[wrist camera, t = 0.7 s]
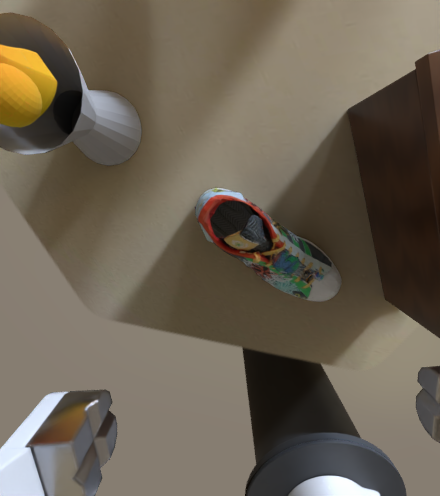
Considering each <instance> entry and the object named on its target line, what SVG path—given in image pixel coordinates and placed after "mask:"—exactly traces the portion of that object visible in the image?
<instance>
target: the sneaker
mask: <svg viewBox="0 0 440 496" xmlns="http://www.w3.org/2000/svg"><path fill="white" fill-rule="evenodd" d="M195 215H196V217H197V220H198V222H199V224H200V226H201V228H202V231H203V233H204V235H205V237H206V239H207V241H210V242H213V243H214V244H215V245H217V246H218V247H219V248H220V249H222V250H223V251H224V252H226V253H228V254H229V255H231V256H233V257H236V258H238V259H239V260H241V261H243V262H244V263H245V264H246V266H247V267H250V268H251V269H253V270H254V271H255V272H256V274H257V275H259V276H261V277H262V280H264V281H267V282H268V283H269V284H271V285H272V286H274V287H275V288H277V289H279V290H281V291H283V292H285V293H288V294H290V295H293V296H296V297H299V298H302V299H305V300H309V301H318V302H320V301H326V300H329V299H331V298H333V297H334V296H335V295H336V294H337V293H338V291H339V289H340V287H341V282H342V281H341V276H340V274H339V271H338V270H337V268H336V267H335V265H334V264H333V262H332V261H331V259H330V258H329V257H328V256H327V255H326V254H325V253H324V252H323V251H322V250H321V249H320V248H319V247H317V246H316V245H315V244H313V243H312V242H310V241H309V240H307V239H304V238H301V237H298V236H296V235H295V234H293V233H292V232H290V231H289V230H288V229H286V228H284V227H282V226H281V225H279V224H278V223H277V222H276V221H274V220H273V219H272V218H270V217H269V216H268V215H267V214H266V213H265V212H264V211H262V210H261V209H260V208H259V207H257V206H256V205H255V204H253V203H251V202H250V201H248V200H247V199H244V198H243V196H242V194H241V193H238V192H233V191H232V190H226V189H221V188H214V189H209V190H207V191H206V192H204V193H203V194H202V195H201V197H200V198H199V200H198V203H197V205H196V207H195Z"/></svg>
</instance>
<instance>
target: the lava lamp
mask: <svg viewBox="0 0 440 496" xmlns="http://www.w3.org/2000/svg"><path fill="white" fill-rule="evenodd" d="M141 133H142V129H141V123H140V118H139V116H138V114H137V112H136V110H135V108H134V107H133V106H132V105H131V103H130V102H129V101H128V100H127V99H126V98H124V97H122V96H121V95H119V94H118V93H115V92H110V91H106V90H88V88H87V86H86V83H85V81H84V78H83V76H82V73H81V71H80V69H79V67H78V65H77V63H76V61H75V59H74V57H73V55H72V53H71V51H70V50H69V48H68V47H67V46H66V45H65V44H64V43H63V41H62V40H61V39H60V38H59V37H58V36H57V35H56V34H55V32H54V31H53V30H52V29H50V28H48V27H47V26H45V25H44V24H42V23H40V22H39V21H37V20H36V19H34V18H32V17H28V16H24V15H20V14H15V13H3V14H0V147H1V148H3V149H5V150H7V151H11V152H16V153H20V154H25V155H29V154H38V153H47V152H50V151H52V150H54V149H56V148H58V147H61V146H63V145H65V144H67V143H69V142H73V143H74V144H75V145H76V146H77V147H78V148H79V149H80V150H81V151H82V152H83V153H84V154H85V155H86V156H87V157H88V158H89V159H91V160H93V161H95V162H96V163H99V164H103V165H118V164H120V163H123V162H125V161H127V160H128V159H129V158H130V157H131V156H132V155H133V154H134V153H135V152H136V150H137V148H138V146H139V144H140V140H141Z"/></svg>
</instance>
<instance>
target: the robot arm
mask: <svg viewBox="0 0 440 496" xmlns="http://www.w3.org/2000/svg"><path fill="white" fill-rule="evenodd" d="M418 383H419V384H420V385H421V386H422V388H423V389H422V390H421V391H420V392H419V393H418V395H417V396H416V410H417V413H418V416H419V419H420V421H421V423H422V425H423V427H424V428H425V430H426V431H427V432H428V433H429V435H430V436H431V437H432V438H433V439H434V440H436V441H437V442H439V443H440V366H433V367H422V368H421V369H420V371H419V372H418ZM111 404H112V399H111V395H110V392H109V391H107V390H87V391H70V392H52V393H50V394H48V395H46V396H45V397H44V398H43V399H42V401H41V402H40V403H39V404H38V406H37V407H36V408H35V409H34V410H33V411H32V412H31V414H30V415H29V416H28V417H27V418H26V420H25V421H24V422H23V423H22V424H21V425H20V427H19V428H18V429H17V430H16V431H15V432H14V434H13V435H12V436H11V437H10V438H9V439H8V441H7V442H6V443H5V444H4V445H3V447H2V448H1V449H0V496H95V494H96V492H97V489H98V487H99V484H100V482H101V480H102V474H101V470H100V468H101V467H102V466H103V465H104V464H105V463H106V462H107V461H108V460H110V458H111V455H112V453H113V450H114V448H115V442H116V437H117V422H116V417H115V416H114V415H113V414H112V413H111V412H110V411H109V408H110V406H111ZM288 496H380V493H379V492H377V491H375V490H371V489H366V488H363V487H361V486H360V485H358V484H357V483H355V482H353V481H352V480H349V479H347V478H344V477H339V476H319V477H315V478H311V479H309V480H306V481H304V482H302V483H301V484H299V485H298V486H296V487H295V488H294V489H293V490H292V491H291V492H290V493H289V495H288Z"/></svg>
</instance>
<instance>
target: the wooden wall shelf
mask: <svg viewBox="0 0 440 496" xmlns="http://www.w3.org/2000/svg"><path fill="white" fill-rule="evenodd" d="M415 66H416V69H415V70H413V71H412V72H410V73H408V74H407V75H405V76H403V77H401V78H400V79H398V80H396V81H395V82H393V83H391V84H390V85H388V86H386V87H385V88H383V89H381V90H380V91H378V92H376V93H375V94H373V95H371V96H369V97H368V98H366V99H364V100H363V101H361V102H359V103H358V104H356V105H354V106H353V107H351V108H349V109H348V114H349V119H350V124H351V129H352V135H353V140H354V145H355V150H356V155H357V160H358V165H359V170H360V175H361V180H362V185H363V190H364V195H365V200H366V205H367V210H368V215H369V220H370V225H371V230H372V236H373V241H374V246H375V251H376V256H377V261H378V266H379V271H380V276H381V281H382V286H383V291H384V296H385V300H387V301H388V302H390V303H391V304H392V305H394V306H395V307H397V308H398V309H399V310H401V311H402V312H404V313H405V314H406V315H408V316H409V317H411V318H412V319H413V320H415V321H416V322H418V323H419V324H420V325H422V326H423V327H425V328H426V329H427V330H429V331H430V332H432V333H433V334H435V335H436V336H437V337H439V338H440V50H437V51H434V52H432V53H429V54H427V55H425V56H424V57H422V58H420V59H419V60H417V61H416V62H415Z"/></svg>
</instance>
